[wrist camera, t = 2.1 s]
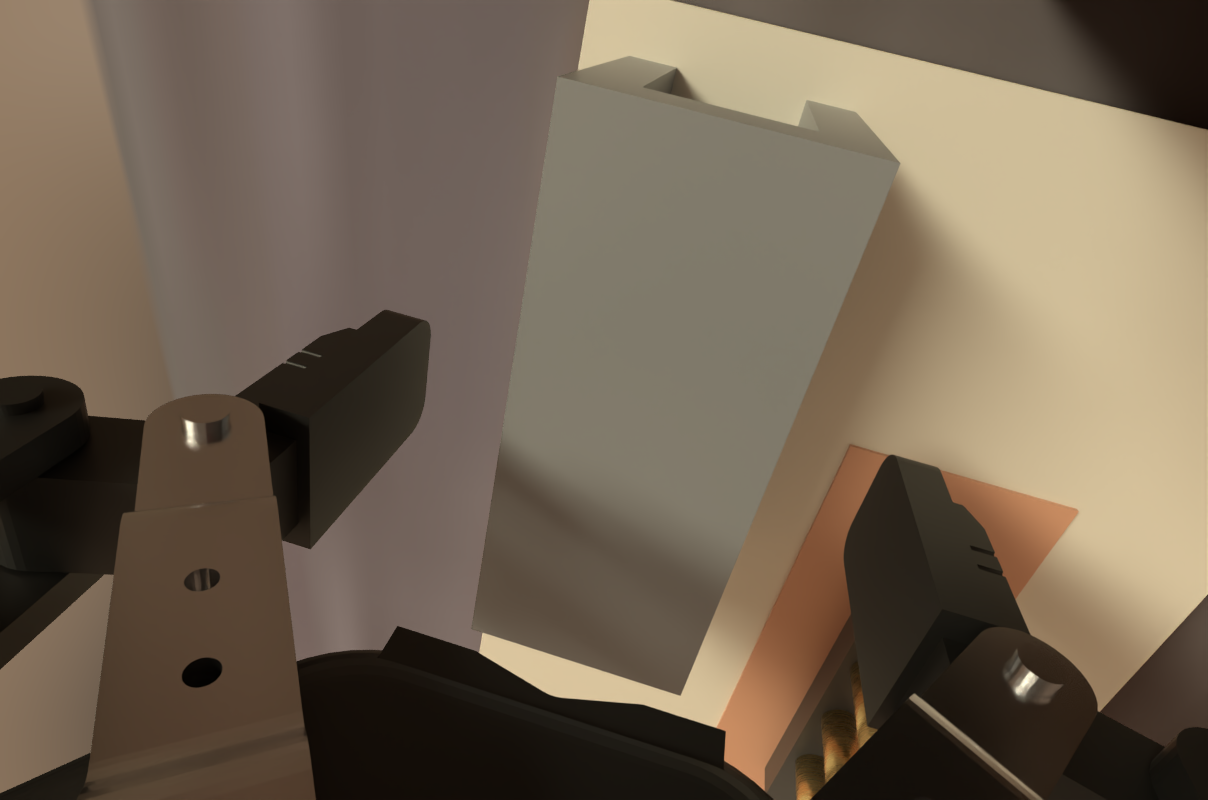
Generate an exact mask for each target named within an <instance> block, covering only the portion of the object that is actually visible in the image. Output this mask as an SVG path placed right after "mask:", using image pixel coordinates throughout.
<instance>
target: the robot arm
mask: <svg viewBox="0 0 1208 800" xmlns="http://www.w3.org/2000/svg"><path fill="white" fill-rule="evenodd" d="M430 337H431V330H430V325H429V323H428V322H427V321H425V320H421V319H418V318H414V317H411V316H407V315H403V314H400V313H396V312H393V311H389V310H383V311H382V312H380V313H379V314H378V315H376V316H375V317H374V318H372V319H371V320H369V321H368V322H367V323H365V324H364V325H363V326H361V327H360V328H359V329H357V330H355V329H352V328H347V329H343V330H340V331H337V332H333V333H330V334H327V335H323V336H321V337H319V338H318V339H316V340H315V341H314V342H312V343H311V344H309V345H308V346H306V347H305V348H304V349H302V352H301V353H300V352H298V353H296V354H295V355H293V356H292V357H291V358H289V359H288V360H287V361H286V364H284V363H282V364H281V365H279V366H278V367H276V368H275V369H273V370H272V371H271V372H269V373H268V374H266V375H265V376H263V377H262V378H260V379H259V380H258V381H256V382H255V383H253V384H252V385H250V386H249V387H248V388H246V389H245V390H243V391H242V392H240V393H239V394H238V395H236V396H230V395H223V394H201V395H193V396H187V397H183V398H179V399H176V400H173V401H170V402H168V403H166V404H164V405H162V406H160V407H158V408H157V409H156V410H154V411H153V412H152V413H151V414H150V415H149V416H148V417H147V419H146V421H144V420H132V419H120V418H108V417H96V416H88V414H87V409H86V404H85V398H84V395H83V392H82V390H81V389H80V388H79V387H78V386H76V385H75V384H73V383H71V382H69V381H66V380H63V379H59V378H54V377H46V376H17V377H8V378H2V379H0V669H1V668H2V667H3V666H4V665H6V664H7V663H8V662H9V661H10V660H11V659H12V658H13V657H14V656H15V655H16V654H18V653H19V652H20V651H21V650H22V649H23V648H24V647H25V646H26V645H27V644H28V643H30V642H31V641H32V640H33V639H34V638H35V637H36V636H37V635H38V634H40V632H42V631H43V630H44V629H45V628H46V627H47V626H48V625H49V624H51V623H52V622H53V621H54V620H55V619H56V618H57V617H58V616H59V615H60V614H61V613H63V612H64V611H65V610H66V609H67V608H68V607H69V606H70V605H71V604H72V603H73V602H75V601H76V600H77V599H78V598H79V597H80V596H81V595H82V594H83V593H84V592H86V590H88V589H89V588H90V587H91V586H92V585H93V584H94V583H95V582H97V581H98V580H99V579H100V578H101V577H102V576H103V575H104V574H113V575H114V576H113V585H112V592H111V599H110V607H109V615H108V622H107V630H106V638H105V645H104V653H103V661H102V669H101V676H100V684H99V692H98V699H97V707H96V714H95V722H94V730H93V737H92V745H91V753H89V754H87V755H85V756H82V757H80V758H78V759H76V760H73V761H71V762H69V763H67V764H64V765H62V766H60V767H58V768H56V769H53V770H51V771H49V772H47V773H45V774H42V775H40V776H38V777H36V778H33V779H31V780H29V781H27V782H24V783H22V784H20V785H18V786H16V787H13V788H11V789H9V790H7V791H4V792H2V793H0V800H774V799H773V798H772V797H771V796H770V795H769V794H767V793H766V792H765V791H764V790H763V789H762V788H761V787H760V786H759V785H757V784H756V783H755V782H754V781H753V780H751V779H750V778H749V777H747V776H746V775H745V774H743V773H742V772H741V771H739V770H738V769H737V768H735V767H734V766H732V765H730V764H729V763H727V762H725V761H724V754H725V737H726V731H724V730H721V729H718V728H715V727H712V726H709V725H705V724H702V723H699V722H696V721H693V720H690V719H687V718H684V717H680V716H677V715H674V714H671V713H668V712H665V711H662V710H659V709H655V708H652V707H649V706H646V705H643V704H631V703H619V702H607V701H595V700H583V699H571V698H560V697H555V696H552V695H549V694H547V693H545V692H543V691H542V690H540V689H538V688H537V687H535V686H533V685H532V684H530V683H528V682H527V681H525V680H523V679H522V678H520V677H518V676H517V675H515V674H513V673H512V672H510V671H508V670H507V669H505V668H503V667H502V666H500V665H498V664H497V663H495V662H493V661H492V660H490V659H488V658H487V657H485V656H483V655H482V654H480V653H478V652H477V651H474V650H471V649H468V648H465V647H462V646H458V645H455V644H452V643H449V642H446V641H443V640H440V639H437V638H433V637H430V636H427V635H424V634H421V633H418V632H415V631H412V630H408V629H405V628H402V627H399V626H397V628H396V629H395V631H394V633H393V634H392V636H391V637H390V639H389V641H388V642H387V644H386V646H385V647H384V649H383V650H350V651H342V652H334V653H327V654H323V655H318V656H314V657H310V658H306V659H303V660H300V661H297V662H296V654H295V646H294V638H293V629H292V621H291V613H290V605H289V596H288V588H287V580H286V572H285V563H284V555H283V547H282V540H283V541H286V542H289V543H293V544H296V545H299V546H302V547H305V548H308V549H311V548H312V547H313V546H314V545H315V543H316V542H317V541H318V540H319V539H320V538H321V536H322V535H323V534H324V533H325V532H326V531H327V530H328V528H329V527H330V526H331V525H332V524H333V523H334V522H335V520H336V519H337V518H338V517H339V516H340V515H341V514H342V512H343V511H344V510H345V509H346V508H347V507H348V506H349V504H350V503H351V502H352V501H353V500H354V499H355V497H356V496H357V495H358V494H359V493H360V492H361V491H362V489H363V488H364V487H365V486H366V485H367V484H368V483H369V481H370V480H371V479H372V478H373V477H374V476H375V475H376V473H377V472H378V471H379V470H380V469H381V468H382V466H383V465H384V464H385V463H386V462H387V461H388V460H389V458H390V457H391V456H392V455H393V454H394V453H395V452H396V450H397V449H398V448H399V447H400V446H401V445H402V444H403V442H404V441H405V440H406V439H407V438H408V437H409V436H410V434H411V433H412V432H413V431H414V429H415V427H416V426H417V424H418V421H419V419H420V417H421V414H422V411H423V407H424V402H425V394H426V383H427V371H428V360H429V349H430ZM994 553H995V551H994V549H993V547H992V544H991V542H990V540H989V538H988V535H987V533H986V531H985V529H984V528H983V527H982V525H981V524H980V523H979V522H978V521H977V520H976V519H975V518H974V517H973V516H972V514H971V513H970V512H969V511H968V510H967V509H966V508H965V507H964V506H963V505H960V504H957V503H954V502H953V501H952V499H951V496H950V494H949V491H948V489H947V486H946V483H945V481H944V478H943V476H942V473H941V471H940V469H939V468H938V467H935V466H932V465H928V464H925V463H921V462H918V461H914V460H911V459H907V458H903V457H900V456H896V455H889V456H888V457H887V458H886V459H885V460H884V461H883V463H882V464H881V466H880V468H879V470H878V472H877V474H876V476H875V478H874V480H873V482H872V484H871V486H870V488H869V490H868V492H867V494H866V496H865V498H864V500H863V502H862V504H861V506H860V508H859V510H858V512H857V514H856V516H855V518H854V520H853V522H852V524H851V526H850V529H849V531H848V534H847V538H846V542H845V547H844V568H845V575H846V582H847V589H848V596H849V603H850V610H851V617H852V623H853V630H854V637H855V644H856V651H857V658H858V665H859V672H860V679H861V686H862V693H863V700H864V707H865V714H866V721H867V726H868V727H871V728H874V729H877V731H876V732H875V733H874V734H873V735H872V736H871V737H870V738H869V739H868V741H867V742H866V743H865V744H864V745H863V746H862V747H861V748H860V749H859V750H858V751H857V752H856V753H855V754H854V755H853V756H852V757H851V758H850V759H849V760H848V761H847V762H846V763H845V764H844V765H843V766H842V767H841V768H840V769H839V770H838V771H837V772H836V774H835V775H834V776H833V777H832V778H831V779H830V780H829V781H828V782H827V783H826V784H825V785H824V786H823V787H822V788H821V789H820V790H819V791H818V792H817V793H816V794H815V795H814V796H813V797H812V798H811V799H810V800H1208V729H1205V728H1198V727H1195V728H1187V729H1184V730H1183V731H1181V732H1180V733H1179V734H1178V735H1177V736H1176V737H1175V738H1174V739H1173V740H1172V741H1171V742H1170V743H1169V744H1168V745H1167V746H1166V747H1164V746H1162V745H1160V744H1158V743H1156V742H1154V741H1152V740H1150V739H1148V738H1147V737H1145V736H1143V735H1141V734H1139V733H1137V732H1135V731H1133V730H1132V729H1130V728H1128V727H1126V726H1124V725H1122V724H1120V723H1118V722H1117V721H1115V720H1113V719H1111V718H1109V717H1107V716H1105V715H1104V714H1102V713H1100V712H1099V711H1098V703H1097V699H1096V696H1095V693H1094V691H1093V689H1092V687H1091V686H1090V684H1089V682H1088V681H1087V679H1086V678H1085V677H1084V676H1083V674H1082V673H1081V672H1080V671H1079V670H1078V669H1077V668H1076V666H1075V665H1074V664H1073V663H1072V662H1070V661H1069V660H1068V659H1067V658H1066V657H1065V656H1064V655H1062V654H1061V653H1060V652H1058V651H1057V650H1056V649H1054V648H1053V647H1051V646H1050V645H1048V644H1047V643H1045V642H1043V641H1041V640H1040V639H1038V638H1036V637H1034V636H1032V635H1031V634H1030V632H1029V630H1028V627H1027V625H1026V623H1025V621H1024V618H1023V616H1022V614H1021V611H1020V609H1019V607H1018V604H1017V602H1016V600H1015V598H1014V595H1013V593H1012V591H1011V588H1010V586H1009V584H1008V581H1007V579H1006V577H1004V576H1002V574H1003V570H1002V568H1001V565H1000V563H999V561H998V558H997V557H995V556H994Z"/></svg>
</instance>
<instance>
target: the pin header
mask: <svg viewBox="0 0 1208 800" xmlns="http://www.w3.org/2000/svg"><path fill="white" fill-rule="evenodd" d="M856 662H858V658H857V651H856V644H855V637H854V630H853V623H852V617H851V614H850V616H849V618H848V620H847V622H846V623H845V625H844V627H843V629H842V631H841V632H840V634H839V636H838V638H837V639H836V641H835V643H834V645H833V647H832V648H831V650H830V652H829V654H828V656H827V657H826V659H825V661H824V663H823V665H822V666H821V668H820V670H819V672H818V673H817V675H816V677H815V679H814V681H813V682H812V684H811V686H810V688H809V690H808V691H807V693H806V695H805V697H804V699H803V700H802V702H801V704H800V706H799V707H798V709H797V711H796V713H795V715H794V716H793V718H792V720H791V722H790V724H789V725H788V727H787V729H786V731H785V733H784V734H783V736H782V738H781V740H780V741H779V743H778V745H777V747H776V749H775V750H774V752H773V754H772V756H771V758H770V759H769V761H768V763H767V765H766V767H765V792H766V793H767V794H769V795H770V796H771V797H772V798H773V799H774V800H796V771H795V761H796V759H797V758H798V757H800V756H802V755H805V754H814V755H818V756H821V757H822V758H824V755H823V741H822V727H821V717H822V715H823V714H824V713H826V712H827V711H830V710H844V711H847V712H850V713H851V714H853V715H854V716H855V711H854V702H853V694H852V686H851V677H850V668H851V666H852V665H853V664H854V663H856Z"/></svg>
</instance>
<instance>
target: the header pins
mask: <svg viewBox="0 0 1208 800" xmlns="http://www.w3.org/2000/svg"><path fill="white" fill-rule="evenodd" d="M850 677H851V686H852V694H853V702H854V711H855V716H854V715H853V714H851V713H850V712H847V711H844V710H830V711H827V712H826V713H824V714H823V715H822V717H821V727H822V741H823V755H824V758H822V757H821V756H818V755H814V754H805V755H802V756H800V757H798V758H797V759H796V761H795V771H796V800H810V799H811V798H812V797H813V796H814V795H815V794H816V793H817V792H818V791H819V790H820V789H821V788H822V787H823V786H824V785H825V784H826V783H827V782H828V781H829V780H830V779H831V778H832V777H833V776H834V775H835V774H836V772H837V771H838V770H839V769H840V768H841V767H842V766H843V765H844V764H845V763H846V762H847V761H848V760H849V759H850V758H851V757H852V756H853V755H854V754H855V753H856V752H857V751H858V750H859V749H860V748H861V747H862V746H863V745H864V744H865V743H866V742H867V741H868V739H869V738H870V737H871V736H872V735H873V734H874V733H875V732H876V731H877V729H874V728H871V727H868V726H867V721H866V714H865V707H864V700H863V693H862V686H861V679H860V672H859V665H858V662H856V663H854V664H853V665H852V666H851V668H850Z"/></svg>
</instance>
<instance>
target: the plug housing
mask: <svg viewBox="0 0 1208 800" xmlns="http://www.w3.org/2000/svg"><path fill="white" fill-rule="evenodd" d="M676 70H677V67H673V66H669V65H665V64H661V63H657V62H653V61H649V60H645V59H641V58H637V57H633V56H627V57H623V58H620V59H616V60H613V61H609V62H606V63H602V64H599V65H595V66H592V67H589V68H585V69H582V70H578V71H575V72H571V73H568V74H564V75H561V76H558V77H557V84H556V90H555V96H554V103H553V109H552V116H551V122H550V128H549V135H548V141H547V148H546V154H545V161H544V167H543V173H542V180H541V186H540V193H539V199H538V205H537V212H536V218H535V225H534V231H533V237H532V244H531V250H530V257H529V263H528V269H527V276H526V282H525V289H524V295H523V302H522V308H521V314H520V321H519V327H518V334H517V340H516V346H515V353H514V359H513V366H512V372H511V378H510V385H509V391H508V398H507V404H506V410H505V417H504V423H503V430H502V436H501V443H500V449H499V455H498V462H497V468H496V475H495V481H494V487H493V494H492V500H491V507H490V513H489V519H488V526H487V532H486V539H485V545H484V551H483V558H482V564H481V571H480V577H479V584H478V590H477V596H476V603H475V609H474V616H473V622H472V628H471V629H473V630H476V631H479V632H482V633H485V634H488V635H492V636H495V637H498V638H501V639H504V640H507V641H510V642H513V643H517V644H520V645H523V646H526V647H529V648H532V649H535V650H538V651H542V652H545V653H548V654H551V655H554V656H557V657H560V658H563V659H567V660H570V661H573V662H576V663H579V664H582V665H585V666H588V667H592V668H595V669H598V670H601V671H604V672H607V673H610V674H613V675H617V676H620V677H623V678H626V679H629V680H632V681H635V682H638V683H642V684H645V685H648V686H651V687H654V688H657V689H660V690H663V691H667V692H670V693H673V694H676V695H679V696H681V694H682V691H683V689H684V686H685V684H686V682H687V679H688V677H689V674H690V672H691V669H692V667H693V665H694V662H695V660H696V657H697V655H698V652H699V650H700V648H701V645H702V643H703V640H704V638H705V636H706V633H707V631H708V628H709V626H710V623H711V621H712V619H713V616H714V614H715V611H716V609H717V606H718V604H719V602H720V599H721V597H722V594H723V592H724V590H725V587H726V585H727V582H728V580H729V577H730V575H731V573H732V570H733V568H734V565H735V563H736V560H737V558H738V556H739V553H740V551H741V548H742V546H743V544H744V541H745V539H746V536H747V534H748V531H749V529H750V527H751V524H752V522H753V519H754V517H755V514H756V512H757V510H758V507H759V505H760V502H761V500H762V498H763V495H764V493H765V490H766V488H767V485H768V483H769V481H770V478H771V476H772V473H773V471H774V468H775V466H776V464H777V461H778V459H779V456H780V454H781V452H782V449H783V447H784V444H785V442H786V439H787V437H788V435H789V432H790V430H791V427H792V425H793V422H794V420H795V418H796V415H797V413H798V410H799V408H800V406H801V403H802V401H803V398H804V396H805V393H806V391H807V389H808V386H809V384H810V381H811V379H812V376H813V374H814V372H815V369H816V367H817V364H818V362H819V360H820V357H821V355H822V352H823V350H824V347H825V345H826V343H827V340H828V338H829V335H830V333H831V330H832V328H833V326H834V323H835V321H836V318H837V316H838V314H839V311H840V309H841V306H842V304H843V301H844V299H845V297H846V294H847V292H848V289H849V287H850V284H851V282H852V280H853V277H854V275H855V272H856V270H857V268H858V265H859V263H860V260H861V258H862V255H863V253H864V251H865V248H866V246H867V243H868V241H869V238H870V236H871V234H872V231H873V229H874V226H875V224H876V222H877V219H878V217H879V214H880V212H881V209H882V207H883V205H884V202H885V200H886V197H887V195H888V192H889V190H890V188H891V185H892V183H893V180H894V178H895V175H896V173H897V171H898V168H899V166H900V162H899V161H898V160H897V159H896V157H895V156H894V155H893V154H892V153H891V152H890V151H889V149H888V148H887V147H886V146H885V145H884V144H883V143H882V141H881V140H880V139H879V138H878V137H877V136H876V134H875V133H874V132H873V131H872V130H871V129H870V128H869V126H868V125H867V124H866V123H865V122H864V121H863V119H862V118H861V117H860V116H859V115H858V114H857V113H856V112H854V111H850V110H846V109H842V108H838V107H834V106H830V105H826V104H822V103H818V102H814V101H810V100H806V103H805V106H804V109H803V112H802V115H801V118H800V121H799V124H798V126H794V125H790V124H786V123H782V122H778V121H775V120H771V119H767V118H763V117H759V116H755V115H751V114H747V113H743V112H739V111H735V110H731V109H727V108H723V107H719V106H715V105H711V104H707V103H703V102H699V101H695V100H691V99H687V98H683V97H679V96H675V95H671V91H672V87H673V82H674V78H675V74H676Z"/></svg>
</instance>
